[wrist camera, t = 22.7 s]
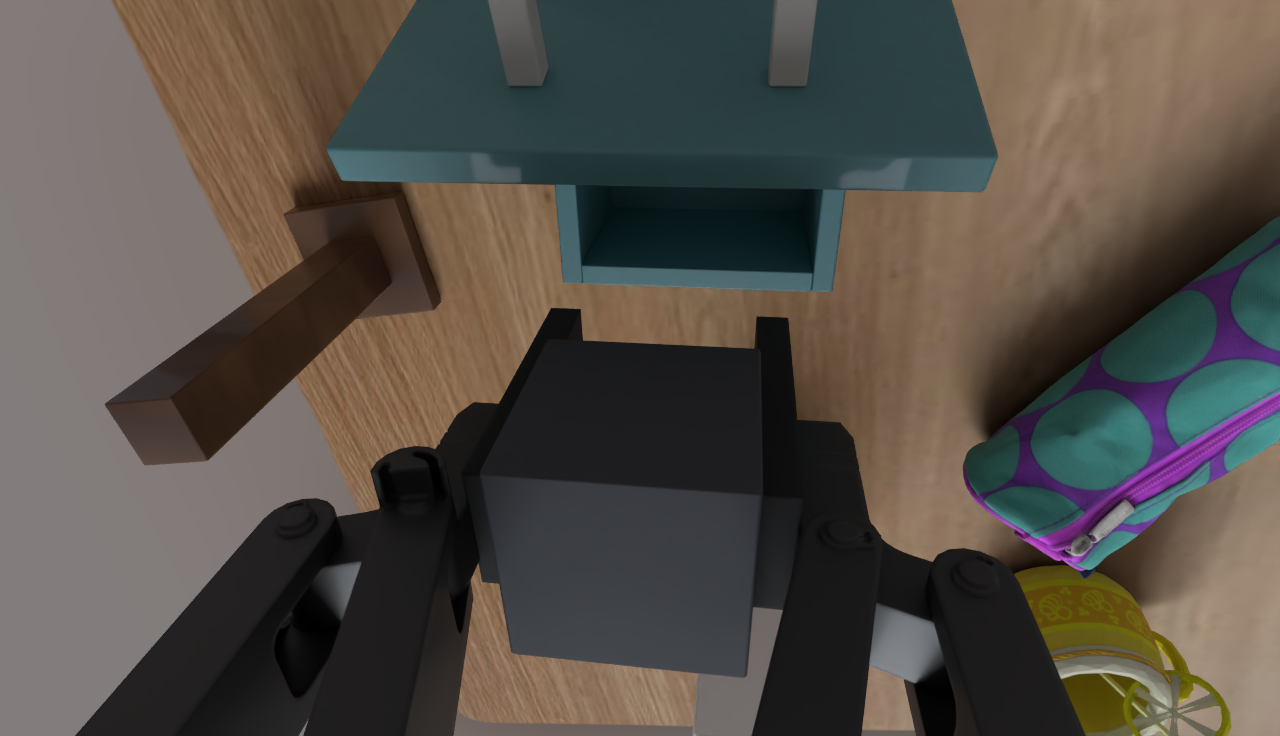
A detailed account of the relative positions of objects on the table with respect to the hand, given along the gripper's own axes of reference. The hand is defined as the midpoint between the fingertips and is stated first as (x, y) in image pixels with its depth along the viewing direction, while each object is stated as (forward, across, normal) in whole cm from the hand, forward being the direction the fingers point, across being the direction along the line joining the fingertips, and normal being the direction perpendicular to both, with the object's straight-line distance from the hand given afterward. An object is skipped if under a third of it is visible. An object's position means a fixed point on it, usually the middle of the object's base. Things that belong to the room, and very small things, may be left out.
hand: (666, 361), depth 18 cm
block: (-3, 0, 0) cm, 3 cm away
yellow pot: (+22, +25, -32) cm, 46 cm away
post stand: (+22, -20, -7) cm, 30 cm away
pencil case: (+22, +24, -11) cm, 35 cm away
